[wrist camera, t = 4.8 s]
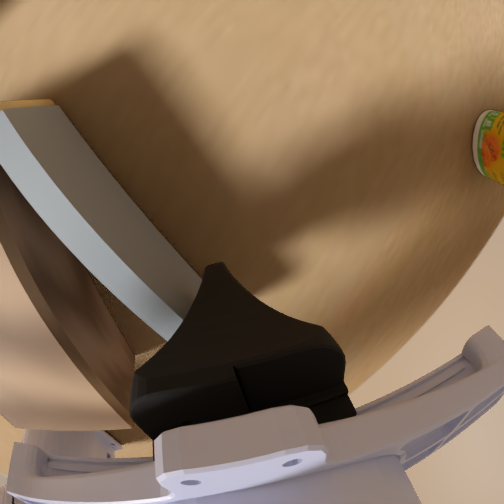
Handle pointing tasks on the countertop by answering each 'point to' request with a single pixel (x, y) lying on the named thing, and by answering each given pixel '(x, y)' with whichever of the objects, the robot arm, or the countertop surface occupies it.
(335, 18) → the countertop surface
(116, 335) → the walnut cabinet
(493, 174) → the supplement bottle
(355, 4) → the countertop surface
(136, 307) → the cabinet door
